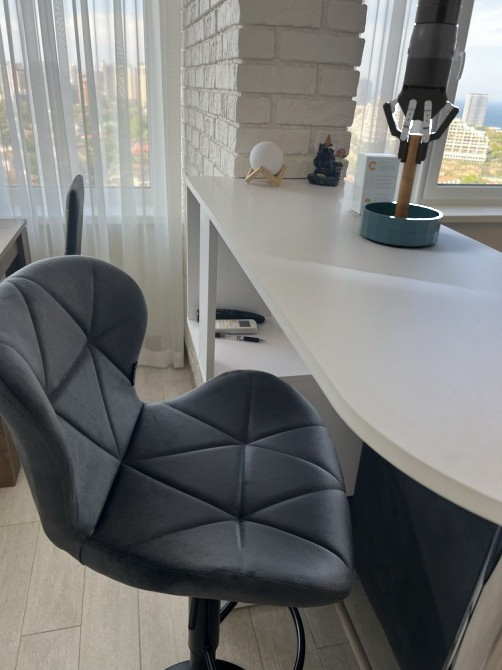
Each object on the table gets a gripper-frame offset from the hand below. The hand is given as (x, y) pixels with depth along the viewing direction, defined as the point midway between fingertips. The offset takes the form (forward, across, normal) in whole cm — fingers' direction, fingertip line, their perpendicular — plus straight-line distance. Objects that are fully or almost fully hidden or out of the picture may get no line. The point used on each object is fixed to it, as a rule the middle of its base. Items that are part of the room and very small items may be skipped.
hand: (410, 162), depth 94 cm
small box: (+14, +8, -21) cm, 27 cm away
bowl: (+14, 0, 0) cm, 14 cm away
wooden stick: (+10, 0, 0) cm, 10 cm away
